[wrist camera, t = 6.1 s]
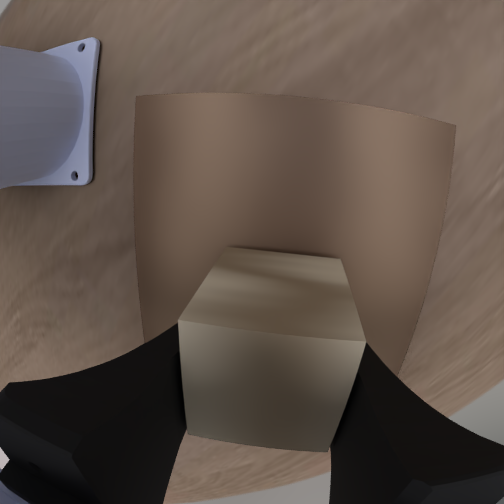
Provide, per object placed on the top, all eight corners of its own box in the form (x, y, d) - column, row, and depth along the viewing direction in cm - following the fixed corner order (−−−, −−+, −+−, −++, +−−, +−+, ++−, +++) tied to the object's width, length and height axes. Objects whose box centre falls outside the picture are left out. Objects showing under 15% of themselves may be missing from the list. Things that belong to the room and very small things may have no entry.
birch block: (223, 340, 13) (187, 434, 8) (226, 246, 11) (178, 319, 7) (322, 352, 12) (327, 452, 8) (340, 258, 11) (366, 341, 6)
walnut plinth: (172, 380, 19) (156, 412, 16) (165, 102, 13) (136, 96, 11) (362, 403, 18) (368, 439, 15) (427, 127, 12) (455, 125, 9)
